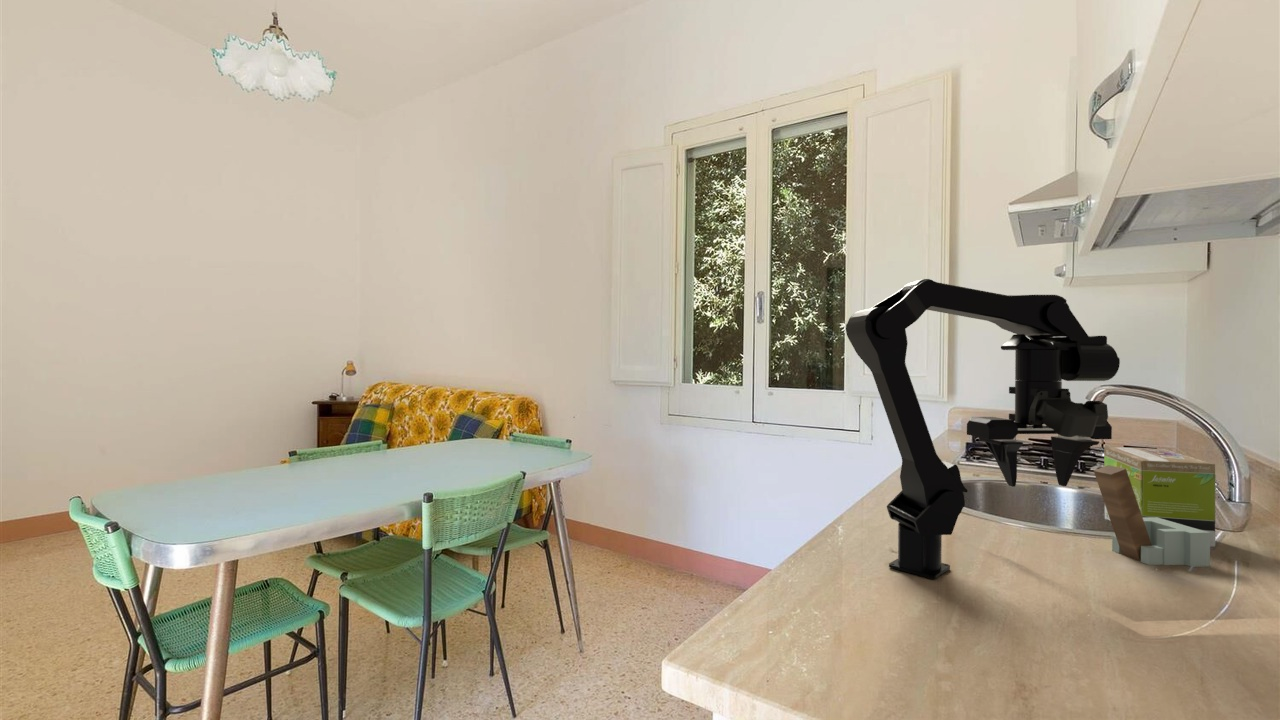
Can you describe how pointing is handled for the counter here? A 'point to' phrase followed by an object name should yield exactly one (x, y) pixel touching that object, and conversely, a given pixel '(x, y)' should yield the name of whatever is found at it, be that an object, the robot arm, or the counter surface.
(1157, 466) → the tea box
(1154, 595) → the counter surface
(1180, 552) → the bracket
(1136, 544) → the brown wooden post
